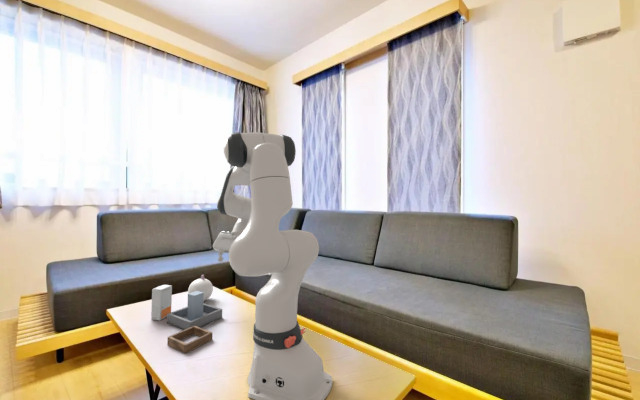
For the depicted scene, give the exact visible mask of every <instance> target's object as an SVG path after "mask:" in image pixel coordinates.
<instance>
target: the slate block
mask: <svg viewBox="0 0 640 400" xmlns="http://www.w3.org/2000/svg"><path fill="white" fill-rule="evenodd" d="M203 298H204V293H203V292H199V291H195V292H192V293H189V294H188V293H187V307H188V313H187V320H190V321H192V320H194V319H197V318H199V317H202V316H203V303H204V301H203Z"/></svg>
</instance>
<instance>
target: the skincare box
mask: <svg viewBox="0 0 640 400" xmlns="http://www.w3.org/2000/svg"><path fill="white" fill-rule="evenodd" d="M172 293H173V285H171V284H170V285H169V284H162V285H158V286H157V287H154V288H152V289H151V312H150V313H151V316H150V319H151V320H155V321H162V320H163V319H165V318H167V314H168V313H171V312H172V301H173V299H172V295H173V294H172Z"/></svg>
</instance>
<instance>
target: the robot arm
mask: <svg viewBox="0 0 640 400" xmlns="http://www.w3.org/2000/svg"><path fill="white" fill-rule="evenodd" d="M223 154H224V157H225V159H226V161H227V163H228V164H229V165H230V166H231V167H230V169H229V170H228V172H227V174H226V177H225V179H224V183H223V187H222V189H221V193H220V196H219V199H218V201H217V204H216V205H217V206H216V208H217V211H219V214H221V215H224V216H230V217H234V218H237V220H236V222H235V224H234V225H233V227H232V230H231V231H226V230H223V231H221V232H219V233H218V234H217V237H216V238H215V240H214V242H213V244H212V249H213V250H214V251H216V252H218V258H217V261H218V263H223V262H224V257H223V255H224V254H225V253H227V254H228V262H229V264H230V267H231V268H232V270H233V271H234V273H235V274H237V275H238V276H240V277H262V276H266V275H271V277H270V278H269V280H268V281H267V283H266V284H265V285H264V286H262V287H261V288H260V289H259V291H258V292H257V294H256V297H255V311H254V312H255V317H254V318H255V321H254V323H253V331H252V340H253V342H254V343H253V345H254V346H253V353H252V362H251V365H250V370H249V373H248V377H247V383H248V386H249V388H248V393H247V395H248V398H250V399H253V400H325V399H327V397H328V395H329V394H330V391H331V390H332V387H333V377H332V375H331V374H330V373H328V372H326V371H324V363H323V361H322V358H321V356H320V355H319V354H318V353H317V352H316V351H315V349H314V348H313V347H311V345H310V344H309V343H308V342H307V341H306V340H305V339H304V338H303V334H304V333H306V331H305V330H306V327H303V328H302V329H301V327H300V324H299V322H298V304H299V303H298V300H299V293H300V289H301V286H302V283H303V281H304V278H305V276H306V274H307V272H308V270H309V269H310V267H311V266H312V265H313V263H314V262H316V260H317V259H318V255H319V253H320V252H319V251H320V246H319V245H320V244H319V242H318V239H317V237H316V236H315V235H314V234H313V232H310V231H306V230H301V229H300V230H299V229H288V230H287V229H286V230H280V229H279V228H280V223H281V220H282V218H283V217H285V216H286V215H287V214H289V212H290V211H291V209H292V208H293V204H294V203H293V196H292V186H291V185H292V184H291V176H290V171H289V167H291V166H292V164H293V163H294V161H295V159H296V155H297V151H296V145H295V142H294V140H293V139H292V137H290V136H289V135H285V134H280V135H279V134H276V133H275V134H274V133H268V132H267V133H266V132H259V131H257V132H255V131H253V132H252V131H251V132H240V131H239V132H238V131H237V132H232V133H229V134H228V135H227V136H226V139H225V141H224V145H223ZM235 186H249V187H250V196H251V197H247V196H244V195H240V194H237V193H235V192H234V189H235Z"/></svg>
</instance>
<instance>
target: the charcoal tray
mask: <svg viewBox="0 0 640 400" xmlns="http://www.w3.org/2000/svg"><path fill="white" fill-rule="evenodd" d="M187 313H188V306H185V307H182V308H179V309H177V310H175V311H171V313H168V314H167V317H166V324H168V325H170V326H173V327H176V328H178V329H180V330H182V331H183V330H185V329H187V328H190V327H192V326H194V325H195V326H197V327H200V328H203V327H205V326H207V325H209V324H212V323H214V322H216V321H218V320H221V319H223V309H222V308H219V307H217V306H214V305H210V304H208V303H204V302H203V316H202V317H199V318H197V319H194V320H192V321H190V320H187Z"/></svg>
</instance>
